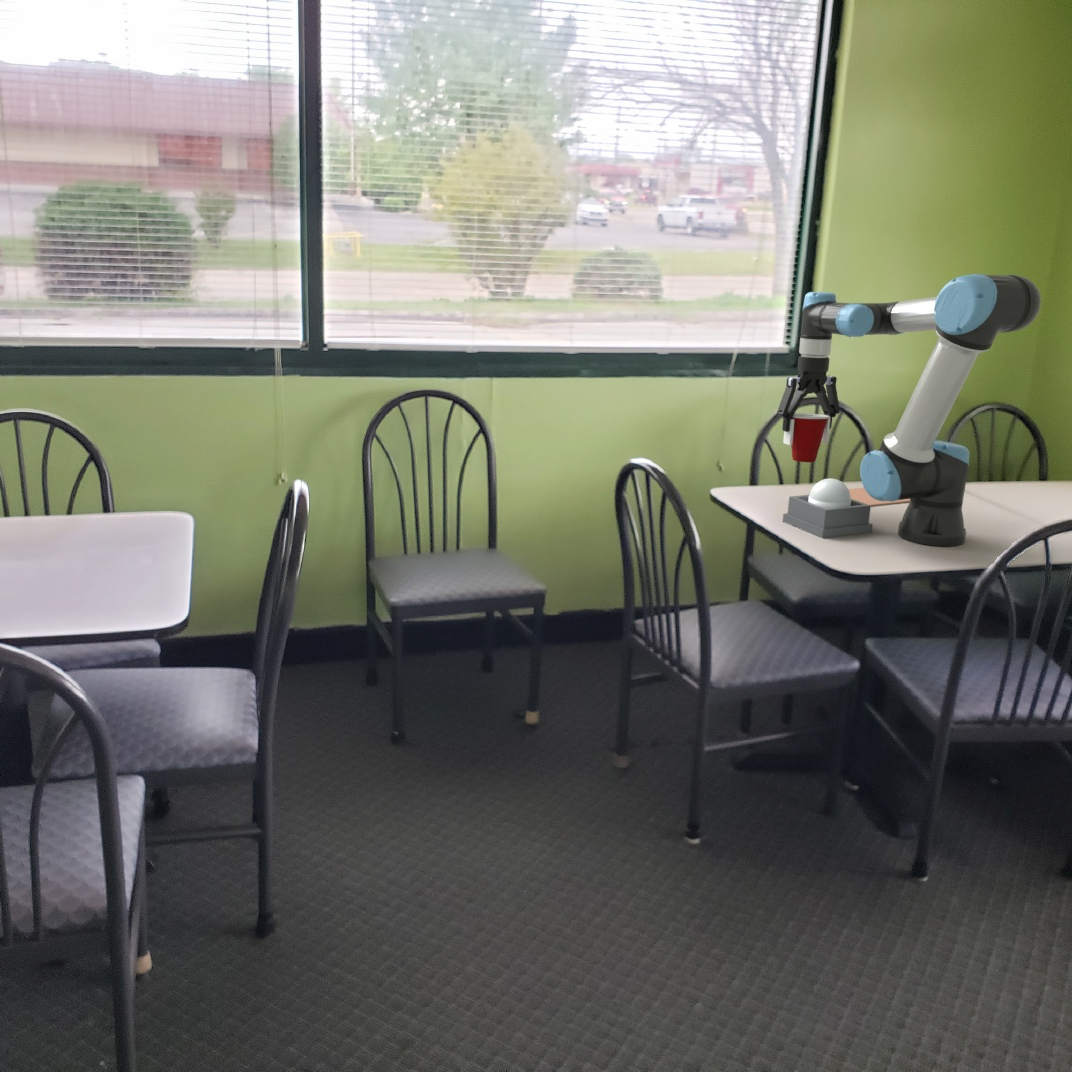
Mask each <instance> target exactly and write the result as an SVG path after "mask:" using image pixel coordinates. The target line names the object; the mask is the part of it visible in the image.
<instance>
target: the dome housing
mask: <svg viewBox="0 0 1072 1072" xmlns="http://www.w3.org/2000/svg"><path fill="white" fill-rule="evenodd" d="M809 495H810V494H803V495H801V494H800V495H793V496H789V497H788V504H787V513H783V514H782V515H783V517H782V522H783V523H785V524H788V525H791V526H792V525H793V526H792V527H795V528H797V527H798V529H800V528H801V529H800V530H802V531H804V530H805V531H804V532H807V533H810V534H812V535H815V536H816V535H817V537H819V538H821V539H823V538H833V537H840V536H841V535H842V536H849V535H848V534H851V535H857V534H858V533H859V534H866V533H868V534H869V533H873V523H871V522H870V513H871V507H872V506H871V505H868V504H865V503H862V502H859V501H856V500H854V499H851V498H850V499H851V506H847V507H837V508H828V509H826V508H823V507H821V506H818V505H815V504H813V503H810V502H808V498H809ZM842 536H841V537H842Z"/></svg>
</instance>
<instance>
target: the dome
mask: <svg viewBox="0 0 1072 1072" xmlns="http://www.w3.org/2000/svg"><path fill="white" fill-rule="evenodd" d="M848 489H849V488H848V487H847V485H846V484H845V483H844V482H843V481H841V480H838V479H837V478H824V479H821V480H819V481H818V482H817V483H815V484H814V485H813V486H812V488H811V490H810V492H809V494H808V495H809V498H808V502H810V503H813V504H815V505H818V506H821V507H823V508H826V509H828V508H837V507H847V506H851V499H850V492H849V490H848Z"/></svg>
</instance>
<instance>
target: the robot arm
mask: <svg viewBox="0 0 1072 1072" xmlns="http://www.w3.org/2000/svg"><path fill="white" fill-rule="evenodd" d="M836 297H837V296H836V294H835V293H834V292H829V291H828V292H825V291H824V292H823V291H809V292H807V293H806V294H805V296H804V300H803V306H802V317H801V329H800V339H799V349H798V352H799V354H800V356H798V361H797V371H798V374H797V376H796V377H790V376H788V377H787V378H786V385H785V386H786V387H785V389H784V391H783V394H782V396H781V400H780V403H779V405H778V408H777V410H776V411H777V412H776V416H778V417H780V418H782V419H783V420H782V427H781V428H782V430H781V431H782V432H783V440H782V444H784V445H787V446H791V445H792V441H793V430H794V419H791V418H792V417H793V415H794V414H795V413H797V412H796V411H797V410H798V408H799V407H800V405H801V403H802V402H803V399H804V398H805V397H806V396H808V394H810V395H811V394H815V396H816V398H817V400H818V402H819V405H820V407H821V410H822V413H823V415H828V416H830V418H829V419H828V421H827V423H826V426H825V429H824V432H823V436H822V440H821V443H822V442H823V443H825V444H826V443H829V436H830V430H832V423H833V418H835V417H836V416H837V415H839V414H840V413H841V411H840V404H839V398H838V392H837V391H838V390H837V381H838V380H837V376H833V375H827V373H828V372H829V368H830V367H829V366H830V358H829V356H830V355H831V349H832V339H833V334H834V335H839V336H845V337H849V338H851V337H854V338H861V337H864V336H867V335H868V336H870V335H871V336H873V335H891V336H892V335H894V336H895V335H901V334H905V333H914V332H926V331H927V332H928V331H935V333H936V335H937V338H938V339H937V341H936V344H935V346H934V348H933V350H932V352H931V354H930V356H929V359H928V361H927V363H926V365H925V367H924V368H923V372H922V373H921V375H920V378H919V379H918V382H917V384H916V386H915V388H914V390H913V392H912V395H911V397H910V399H909V401H908V403H907V405H906V407H905V409H904V411H903V413H902V416H901V418H900V420H899V422H898V424H897V426H896V429H895V430H894V431H892V432H889V433H888V434H886V435H885V436H884V438H883V440H882V442H881V444H880V446H879V448H878V450H877V449H874V450H871V451H869V452H868V453H866V454H865V455H864V456H863V458H862V459H861V463H860V467H859V476H860V479H861V484H862V486H863V487H862V488H865V490H866V492H867V493H868V494H869V495H870V496H871V497H872V498H874V499H876V500H878V501H891V502H893V501H896V500H903V499H910V502H908V503H909V504H908V505H907V507H906V510H905V512H904V513H903V516H902V518H901V520H900V522H899V523H898V529H897V535H898V536H899V537H900V538H902V539H904V540H906V541H909V542H913V543H917V544H922V545H927V546H934V547H935V546H937V547H950V546H951V547H955V546H959V545H962V544H964V543H966V536H967V531H966V528H965V521H964V515H963V502H964V496H965V491H966V485H967V480H968V471H969V466H970V463H969V462H970V451H969V448H968V447H967V446H964V445H961V444H958V443H953V442H949V441H944V440H939V439H937V438H938V435H939V433H940V432H941V429H942V427H943V425H944V424H945V422H946V419H947V417H948V415H949V414H950V412H951V410H952V407H953V406H954V404H955V401H956V399H957V398H958V395H959V393H960V392H961V390H962V387H963V386H964V384H965V383H966V380H967V378H968V376H969V374H970V372H971V370H972V368H973V366H974V365H975V362H976V361H977V358H978V355H980V354H981V353H984V352H987V351H989V350H990V349H991V348H992V346H993V343H994V341H995V339H996V338H997V336H998V334H1000V333H1002V334H1003V333H1014V332H1018V331H1021V330H1022V329H1025V328H1027V327H1028V326H1029V325H1030V324H1031V323H1033V322H1034V321H1035V320H1036V318H1037V317H1038V314H1039V313H1040V310H1041V307H1042V296H1041V292H1040V290H1039V288H1038V287H1037V285H1036V284H1035V283H1034V281H1032V280H1030V279H1029V278H1027V277H1024V276H1021V275H1017V274H1003V275H1002V274H983V273H982V274H981V273H973V274H971V273H970V274H968V275H967V274H966V275H960V276H957V277H955V278H952V279H951V280H950V281H948V282H947V283H946V284H945V285H944V286H943V287H942V288H941V290H940V291H939V292H938V294H937V296H933V297H925V298H924V297H922V298H915V299H908V300H901V301H892V302H878V303H877V302H873V303H872V302H866V303H865V302H851V303H850V302H838V301H837V299H836ZM824 385H825V386H824Z"/></svg>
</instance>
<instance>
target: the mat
mask: <svg viewBox="0 0 1072 1072" xmlns="http://www.w3.org/2000/svg"><path fill="white" fill-rule="evenodd" d="M848 490H849V492H850V498H851V499H854V500H856V501H859V502H862V503H865V504H868V505H871V507H877V506H878V507H879V506H886V505H895V504H905V502H906V503H910V499H903V500H896V501H893V502H891V501H878V500H876V499H874V498H872V497H871V496H870V495H869V494H868V493H867V492H866V490H865V488H864V487H856V488H848Z"/></svg>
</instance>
